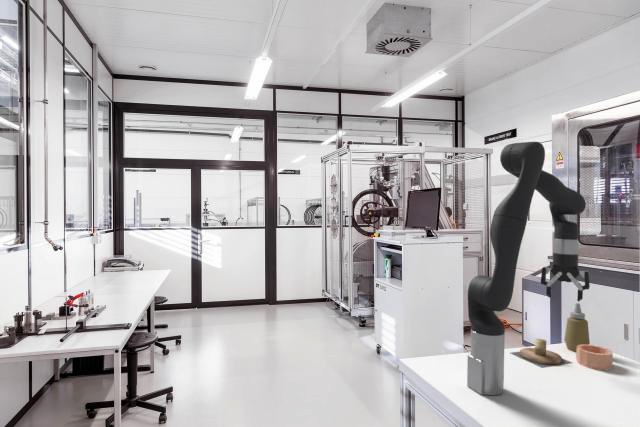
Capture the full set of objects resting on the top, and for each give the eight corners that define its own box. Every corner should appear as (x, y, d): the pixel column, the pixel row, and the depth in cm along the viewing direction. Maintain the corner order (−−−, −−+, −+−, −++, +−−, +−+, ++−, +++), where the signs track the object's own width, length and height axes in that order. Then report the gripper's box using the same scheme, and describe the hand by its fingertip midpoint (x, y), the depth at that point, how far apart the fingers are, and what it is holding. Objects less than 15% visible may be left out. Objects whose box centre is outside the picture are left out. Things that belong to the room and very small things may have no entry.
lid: (541, 366, 135) (542, 348, 134) (511, 353, 147) (512, 336, 147) (570, 362, 139) (570, 344, 139) (539, 349, 151) (539, 333, 151)
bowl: (597, 373, 131) (598, 356, 131) (569, 361, 141) (570, 346, 141) (619, 369, 134) (619, 353, 134) (590, 358, 144) (591, 343, 144)
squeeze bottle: (564, 352, 150) (566, 304, 149) (563, 345, 157) (564, 300, 156) (590, 356, 146) (592, 307, 145) (588, 349, 153) (589, 302, 153)
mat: (541, 369, 134) (541, 367, 134) (509, 354, 147) (509, 352, 147) (572, 364, 138) (573, 362, 138) (538, 350, 152) (538, 348, 152)
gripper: (540, 251, 139) (539, 298, 139) (590, 254, 131) (588, 304, 131) (543, 249, 145) (542, 294, 146) (590, 253, 137) (589, 300, 137)
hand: (564, 299), depth 138 cm, fingers open, 8 cm apart
